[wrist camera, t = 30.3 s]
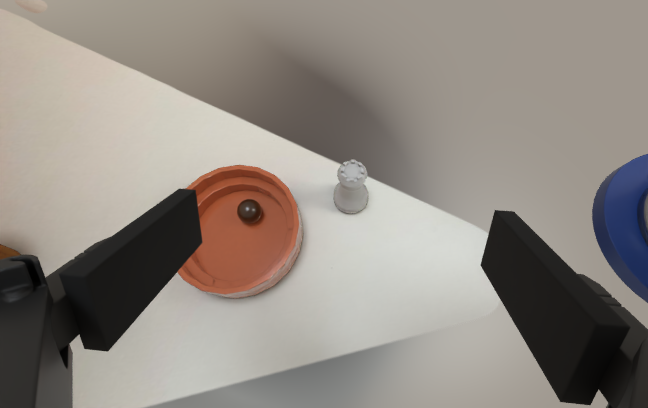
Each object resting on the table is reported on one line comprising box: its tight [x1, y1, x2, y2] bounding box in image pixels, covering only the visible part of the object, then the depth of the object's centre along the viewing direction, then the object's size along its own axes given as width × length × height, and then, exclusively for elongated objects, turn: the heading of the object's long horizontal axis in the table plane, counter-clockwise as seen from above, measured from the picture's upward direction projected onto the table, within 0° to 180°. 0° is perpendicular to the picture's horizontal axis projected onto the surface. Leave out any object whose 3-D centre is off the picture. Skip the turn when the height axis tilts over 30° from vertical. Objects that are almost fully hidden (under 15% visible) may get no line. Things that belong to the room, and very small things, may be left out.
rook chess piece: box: [333, 160, 368, 213], centre depth 39 cm, size 4×4×8 cm
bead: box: [237, 199, 262, 223], centre depth 41 cm, size 3×3×3 cm
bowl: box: [177, 165, 303, 298], centre depth 40 cm, size 15×15×4 cm
